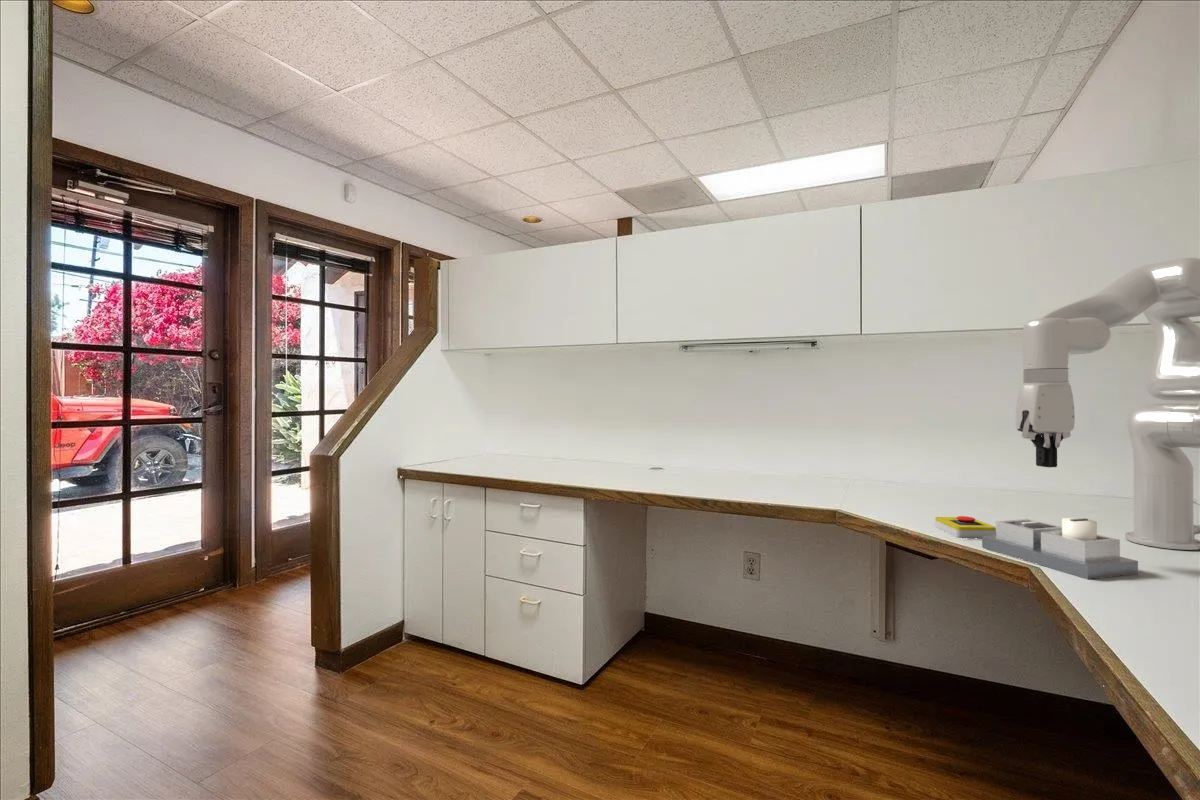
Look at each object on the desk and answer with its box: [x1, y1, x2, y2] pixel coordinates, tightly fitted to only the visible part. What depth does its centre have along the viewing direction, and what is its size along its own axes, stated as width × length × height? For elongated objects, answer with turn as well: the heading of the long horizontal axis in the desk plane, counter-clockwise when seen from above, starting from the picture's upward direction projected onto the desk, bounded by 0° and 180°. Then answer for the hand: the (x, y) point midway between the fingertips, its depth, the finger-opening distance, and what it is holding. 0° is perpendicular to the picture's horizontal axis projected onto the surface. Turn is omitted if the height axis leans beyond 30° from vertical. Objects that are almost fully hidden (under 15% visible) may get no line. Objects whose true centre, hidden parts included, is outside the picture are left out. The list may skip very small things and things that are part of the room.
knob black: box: [1015, 521, 1045, 529], centre depth 119 cm, size 5×5×6 cm
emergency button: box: [934, 515, 996, 541], centre depth 138 cm, size 9×4×15 cm
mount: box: [981, 518, 1139, 580], centre depth 114 cm, size 12×22×6 cm, turn 12°
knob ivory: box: [1061, 517, 1098, 541], centre depth 110 cm, size 5×5×6 cm
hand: (1046, 466), depth 116 cm, fingers closed
